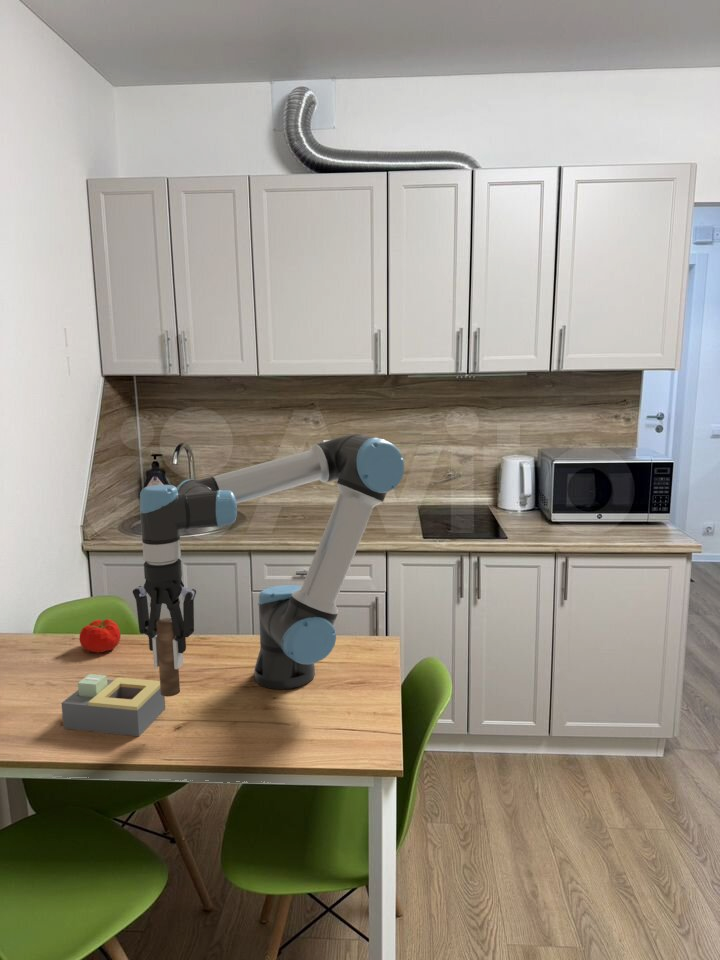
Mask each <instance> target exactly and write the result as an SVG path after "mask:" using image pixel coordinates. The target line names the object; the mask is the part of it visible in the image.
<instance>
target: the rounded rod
mask: <svg viewBox="0 0 720 960" xmlns="http://www.w3.org/2000/svg"><path fill="white" fill-rule="evenodd" d="M156 626H157V642H158V658H159V666H158V672H159V681H160V690H161V695H162V696H165V697H175V696H176V695H179V693H180V692H181V687H180V686H181V685H180V671H179V670H180V668H179V669H174V654H173V639H174V638H176V635H175V631H174V627H173V623H172V620H171V617H164V618H160V620H158V621H157V622H156Z"/></svg>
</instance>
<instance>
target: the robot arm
mask: <svg viewBox="0 0 720 960" xmlns="http://www.w3.org/2000/svg"><path fill="white" fill-rule="evenodd" d="M404 474H405V460H404V458H403V455H402V452H401V451H400V449H398V447H397V446H396V445H395V444H393V443H391V442H390V441H388V440H386V439H384V438H383V439H382V438H380V437H374V436H369V435H365V434H360V433H359V434H358V433H351V434H347V435H342V436H339V437H336V438H332V439H329V440H326V441H322V442H320V443H315V444H313V445H312V446H311V448H310V449H309V450H306V451H302V452H299V453H295V454H291V455H286V456H284V457H280V458H277V459H273V460H268V461H266V462H261V463H259V464H254V465H250V466H248V467H247V466H246V467H243V468H241V469H239V468H238V469H235V470H232V471H229V472H224V473H222V474H217V475H213V476H210V477H207V478H203V479H198V480H197V479H192V478H190V479H185V480H183V481H181V482H180V483H179V484H178V485H177V486H175V485H172V484H154V485H149V486H145V487H143V488H142V489H141V491H140V492H139V493H140V494H139V502H140V503H139V514H140V516H139V517H140V527H141V540H142V542H141V543H142V557H143V558H142V559H143V561H145V562H144V563H143V574H144V576H143V577H144V580H145V582H144V584H143V585H139V586H138V587H136V588H134V589H132V595H133V597H134V600H135V603H136V611H137V621H138V622H137V623H138V631H139V633H140V635H143V634H144V635H146V636H147V637H148V649H149V651H150V652H152V654H153V655H152V656H153V657H152V658H153V667H154V668H159V658H158V642H157V626H156V622H157V621H158V620H160V619H161V613H162V605H163V604H164V605H165V606H166V609H167V610H168V612H169V615H170V618H171V620H172V623H173V627H174V631H175V635H176V638H174V639H173V654H174V669H179V670H180V668H181V667H182V666H183V665H184V655H183V654H184V652H186V650H187V642H186V638H190V636H191V635H192V634H193V633H194V632H195V611H194V610H195V606H194V604H195V603H194V602H195V601H194V600H195V597H196V594H197V590H196V589H194V588H193V589H189V588H186V587H185V584H184V582H183V579H182V578H183V577H182V575H183V571H182V567H183V566H182V560H181V559H180V558H181V556H182V554H181V535H180V534H181V533H180V531H185V530H194V529H195V530H196V529H205V528H214V527H219V528H220V527H223V526H229V525H232V524H234V523H235V522H236V521H237V520H236V519H237V516H238V507H237V504H240V503H243V502H246V501H250V500H253V499H257V498H259V497H264V496H267V495H270V494H274V493H279V492H281V491H285V490H289V489H292V488H295V487H299V486H302V485H305V484H309V483H310V484H311V483H313V482H317V481H320V482H321V483H329V482H331V481H336V487H337V490H338V491H339V494H338V497H337V498H336V501H335V503H334V505H333V509H332V510H331V514H330V517H329V519H328V521H327V523H326V526H325V529H324V531H323V533H322V535H321V538H320V541H319V544H318V546H317V548H316V550H315V553H314V556H313V559H312V561H311V563H310V566H309V568H308V571H307V573H306V575H305V577H304V578H305V579H304V580H303V583H302V585H296V584H287V585H286V584H283V585H276V586H275V585H274V586H271V587H268V588H265V589H263V590H261V591H260V592H259V594H258V603H257V606H258V618H259V619H258V622H259V624H258V625H259V642H260V646H259V647H260V649H259V652H258V655H257V659H256V662H255V665H254V671H253V672H254V680H255V682H256V683H257V684H258V685H260V686H262V687H265V688H267V689H271V690H272V689H274V690H289V689H295V688H298V687H302V686H305V685H306V684H307V685H308V683H310V682H311V681H312V680H313V679H314V677H315V675H316V671H315V670H316V669H315V664H317V663H318V662H320V661H323V660H324V659H326V658H327V657H328V656H329V655H330V654H331V652H332V651H333V649H334V647H335V645H336V642H337V633H336V629H335V626H334V624H335V622H336V619H337V617H338V614H339V610H338V607H337V605H336V603H337V602H336V601H337V599H338V596H339V594H340V591H341V590H342V587H343V585H344V582H345V580H346V576H347V574H348V573H349V570H350V568H351V564H352V562H353V559H354V558H355V554H356V552H357V550H358V548H359V545H360V542H361V540H362V538H363V536H364V535H363V534H364V532H365V531H366V528H367V524H368V522H369V520H370V517H371V515H372V512H373V510H374V508H375V507H376V506H379V505H381V504H383V503H384V501H385V498H386V495H387V493H388V492H391V491H392V490H394V489H396V488H398V486H399V484H400V483H401V482H402V479H403V477H404ZM181 594H182V600H183V605H182V606H183V607H182V610H181V607H180V604H181V602H180V601H181V600H180V596H181ZM148 596H149V597H150V604H149V603H148ZM149 608H150V612H149ZM182 612H183V615H182Z"/></svg>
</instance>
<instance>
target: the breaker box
mask: <svg viewBox="0 0 720 960" xmlns="http://www.w3.org/2000/svg"><path fill="white" fill-rule="evenodd" d="M107 684H108V686H107V687H106V688H104V689H103V690H102V691H101V692H100V693H98V694H97V695H96V696H95V697H94V698H93V697H82V696H79V689H77V690H76V691H74V692H73V693H72V694H71V695H69V696H68V697H67V698H66V699H64V700H63V701H62V702H61V712H62V713H61V714H62V722H63V729H67V730H75V731H84V732H95V733H102V734H103V733H104V734H112V735H113V734H115V735H122V736H132V737H140V736H141V735H142V734H143V733H144V732H145V731H146V730H147V729H148V728H149V727H150V726H151V724H153V723H154V722H155V720H157V719H158V717H159V716H161V714H162V713H163V712H164V711H165V710H166V698H165V697H166V696H162V695H161V690H160V680H154V679H153V680H152V679H142V678H140V679H139V678H131V677H121V676H120V677H115V679H107ZM121 698H130V699H132V700H130V699H121Z"/></svg>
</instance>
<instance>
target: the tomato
mask: <svg viewBox="0 0 720 960" xmlns="http://www.w3.org/2000/svg"><path fill="white" fill-rule="evenodd" d="M78 640H79V643H80V646H81V647H82V649H83V650H85V651H87V652H92V653H97V654H100V653H104V652H106V651H107V652H108V651H111V650H114V649H115V648H116V647H118V645H119V644H120V640H121V630H120V628H119V626H118V624H117V623H116V622H114V621H113V620H112V619H109V618H108V619H105V620H104V619H103V620H101V619H95V620H93V621H92V622H90V624H88V625H86V626H83V628H82V629H81V631H80V633H79V639H78Z"/></svg>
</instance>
